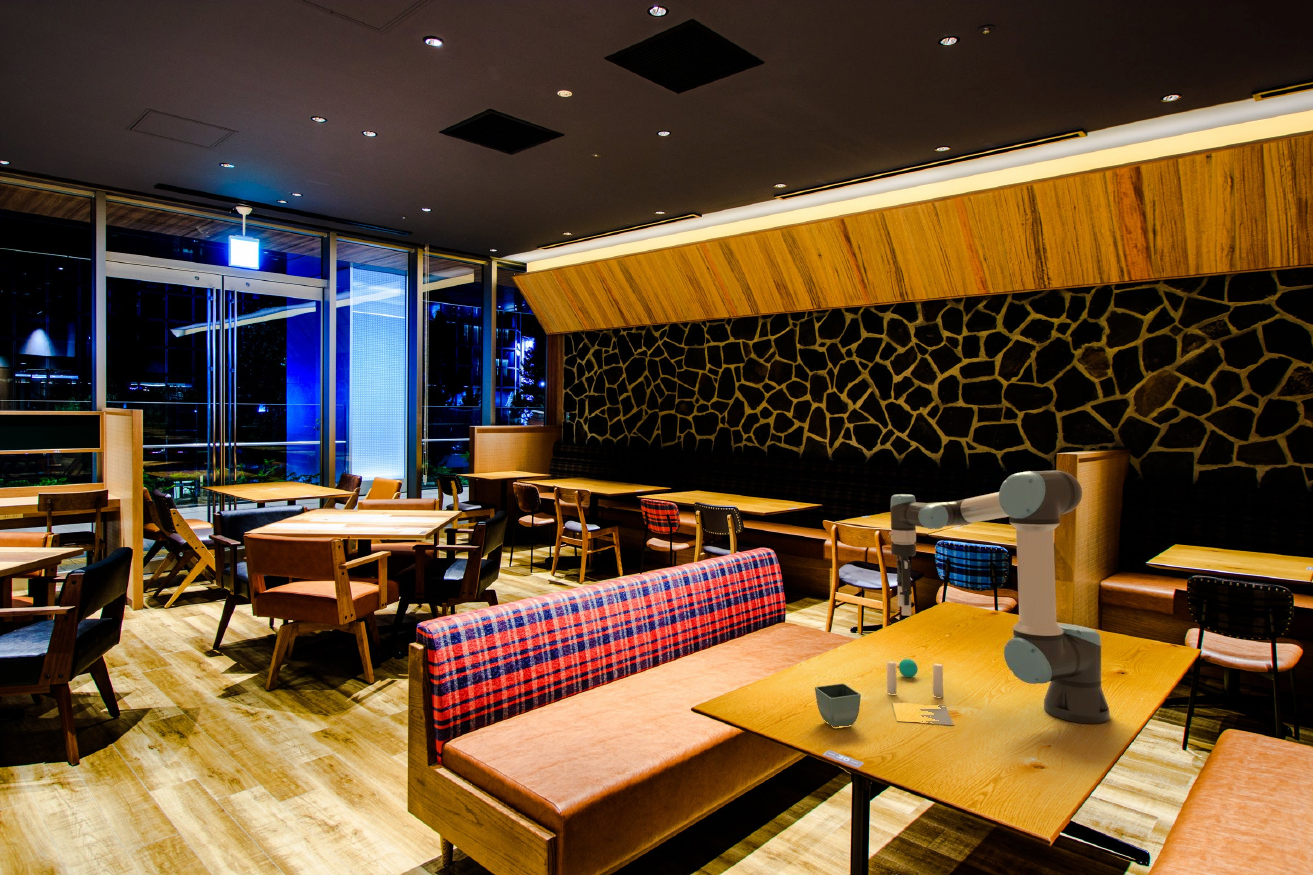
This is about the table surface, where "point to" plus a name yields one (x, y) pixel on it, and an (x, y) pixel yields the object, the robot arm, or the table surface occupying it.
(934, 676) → the right post
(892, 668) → the left post
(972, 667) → the table surface
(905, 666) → the ball
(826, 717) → the flower pot
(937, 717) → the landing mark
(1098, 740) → the table surface
